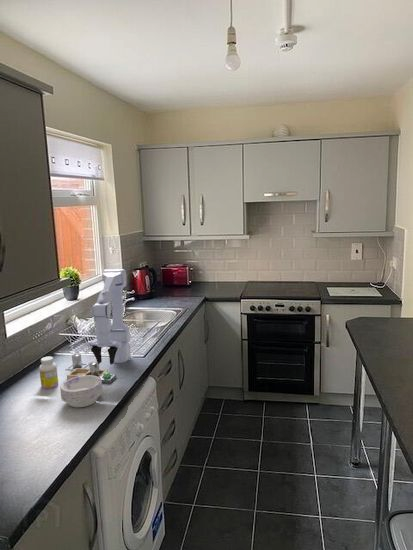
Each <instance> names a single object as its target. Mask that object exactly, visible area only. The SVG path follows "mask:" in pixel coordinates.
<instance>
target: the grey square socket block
mask: <svg viewBox="0 0 413 550" xmlns="http://www.w3.org/2000/svg"><path fill="white" fill-rule="evenodd" d="M100 378H101V380H102V384H111V383H112V382H113V381H115V379H117V373H110V378H109V379H108V378H104V376H103V375H102V376H101V377H100Z"/></svg>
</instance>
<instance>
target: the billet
mask: <svg viewBox="0 0 413 550" xmlns="http://www.w3.org/2000/svg"><path fill="white" fill-rule="evenodd" d="M71 361H72V364H73V366H72V369H76V368H83V365H82V363H83V361H82V354H81V353H75V354H72V355H71Z"/></svg>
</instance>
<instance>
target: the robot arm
mask: <svg viewBox="0 0 413 550" xmlns="http://www.w3.org/2000/svg"><path fill="white" fill-rule="evenodd" d="M126 271H127V270H126V269H124V268H121V269H104V270H103V271H102V274H101V275H102V276H101V277H102V282H103V283H104V285H103V290H101V291H100V292H99V294H98V297H97V301H96V302H95V304H93V305H92V309H91V311H92V312H91V313H92V318H93V321H94V322H93V323H95V324H94V325H95V333H96V334H95V335H96V339H95V340H89V341H87V342H86V345H87V347H91V348H90V352H92V354H93V355H94V357H95V359H96V362H97V363H98V364H99V365H100V364H101V363H102V349H103V348H108V349H107V353H108V359H109V365H113V364H120V363H121V364H122V363H125V362H127V361H131V360H133V356H132V353H131V345H130V343H129V342H130V340H131V332H130V326H129V325H127V324H126V323H124V305H123V303H124V301H123V300H124V299H123V298H124V297H123V295H124V294H123V293H124V288H125V287H127V284H128V283H127V282H128V281H127V272H126ZM111 311H112V312H111ZM111 314H112V323H111V322H110V320H111V319H110V317H111Z"/></svg>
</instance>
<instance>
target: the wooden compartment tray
mask: <svg viewBox="0 0 413 550" xmlns="http://www.w3.org/2000/svg"><path fill="white" fill-rule="evenodd" d="M99 370H100V375H99V376H98V377H99V378H100V377H101V376H102V375H103V373H105V372H109V371H108V369H99ZM85 375H90V368H83V367H81V368H76V369H75V370H71V371H70V372H69V373H68V374H67V375H66V379H67V380H69V379H71V378H74V377H78V376H85Z"/></svg>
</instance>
